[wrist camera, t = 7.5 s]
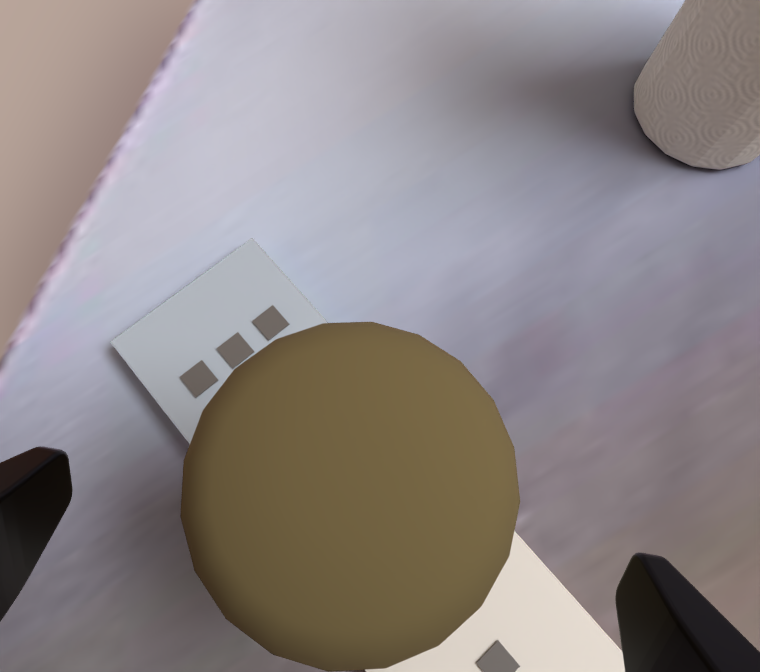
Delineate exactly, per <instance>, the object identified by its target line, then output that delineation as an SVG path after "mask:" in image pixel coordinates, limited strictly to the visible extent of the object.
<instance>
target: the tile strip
mask: <svg viewBox="0 0 760 672" xmlns="http://www.w3.org/2000/svg"><path fill="white" fill-rule="evenodd" d="M323 323H328V322H327V321H326V320H325V318H324V317H323V316H322V315H321V314H320V313H319V312H318V311H317V310H316V308H315V307H314V306H313V305H312V304H311V303H310V302H309V301H308V299H307V298H306V297H305V296H304V295H303V294H302V293H301V292H300V291H299V289H298V288H297V287H296V286H295V285H294V284H293V283H292V282H291V280H290V279H289V278H288V277H287V276H286V275H285V274H284V273H283V271H282V270H281V269H280V268H279V267H278V266H277V265H276V264H275V263H274V261H273V260H272V259H271V258H270V257H269V256H268V255H267V254H266V252H265V251H264V250H263V249H262V248H261V247H260V246H259V245H258V244H257V242H256V241H255V240H254V239H253V238H251V239H250V240H249V241H247V242H246V243H245V244H243V245H242V246H240V247H239V248H238V249H236V250H235V251H234V252H232V253H231V254H230V255H228V256H227V257H225V258H224V259H223V260H221V261H220V262H219V263H217V264H216V265H215V266H213V267H212V268H210V269H209V270H208V271H206V272H205V273H204V274H202V275H201V276H199V277H198V278H197V279H195V280H194V281H193V282H191V283H190V284H189V285H187V286H186V287H184V288H183V289H182V290H180V291H179V292H178V293H176V294H175V295H173V296H172V297H171V298H169V299H168V300H167V301H165V302H164V303H163V304H161V305H160V306H158V307H157V308H156V309H154V310H153V311H152V312H150V313H149V314H147V315H146V316H145V317H143V318H142V319H141V320H139V321H138V322H137V323H135V324H134V325H132V326H131V327H130V328H128V329H127V330H126V331H124V332H123V333H122V334H120V335H119V336H117V337H116V338H115V339H113V340H112V341H111V344H112V345H113V346H114V347H115V349H116V350H117V351H118V353H119V354H120V355H121V356H122V358H123V359H124V360H125V362H126V363H127V364H128V365H129V367H130V368H131V369H132V371H133V372H134V373H135V375H136V376H137V377H138V378H139V380H140V381H141V382H142V384H143V385H144V386H145V387H146V389H147V390H148V391H149V393H150V394H151V395H152V396H153V398H154V399H155V400H156V402H157V403H158V404H159V405H160V407H161V408H162V409H163V411H164V412H165V413H166V414H167V416H168V417H169V418H170V420H171V421H172V422H173V423H174V425H175V426H176V427H177V429H178V430H179V431H180V432H181V434H182V435H183V436H184V438H185V439H186V440H187V441H188V443H189V444H190V443H191V440H192V438H193V435H194V432H195V430H196V427H197V424H198V422H199V419H200V416H201V414H202V411H203V409H204V408H205V407H206V405H207V404H208V403H209V401H210V400H211V399H212V398H213V396H214V395H215V394H216V392H217V391H218V390H219V389H220V387H221V386H222V385H223V383H224V382H225V381H226V379H227V378H228V377H229V376H230V374H231V373H232V372H233V370H234V369H235V368H236V367H238V366H239V365H241V364H242V363H243V362H245V361H246V360H248V359H249V358H250V357H252V356H253V355H255V354H256V353H257V352H259V351H260V350H262V349H263V348H264V347H266V346H267V345H269V344H270V343H271V342H273V341H274V340H276V339H278V338H281V337H284V336H287V335H290V334H293V333H296V332H299V331H302V330H305V329H308V328H311V327H314V326H317V325H320V324H323ZM365 671H366V672H625V667H624V660H623V653H622V651H621V650H620V649H619V647H618V646H617V645H616V644H615V643H614V642H613V641H612V640H611V639H610V637H609V636H608V635H607V634H606V633H605V632H604V631H603V630H602V628H601V627H600V626H599V625H598V624H597V623H596V622H595V621H594V619H593V618H592V617H591V616H590V615H589V614H588V613H587V612H586V611H585V609H584V608H583V607H582V606H581V605H580V604H579V603H578V602H577V600H576V599H575V598H574V597H573V596H572V595H571V594H570V593H569V592H568V590H567V589H566V588H565V587H564V586H563V585H562V584H561V583H560V581H559V580H558V579H557V578H556V577H555V576H554V575H553V574H552V572H551V571H550V570H549V569H548V568H547V567H546V566H545V565H544V564H543V562H542V561H541V560H540V559H539V558H538V557H537V556H536V555H535V553H534V552H533V551H532V550H531V549H530V548H529V547H528V546H527V545H526V543H525V542H524V541H523V540H522V539H521V538H520V537H519V536H518V534H517V533H516V532H515V531H514V535H513V540H512V545H511V550H510V555H509V558H508V559H507V561H506V563H505V565H504V567H503V568H502V570H501V572H500V574H499V576H498V577H497V579H496V581H495V583H494V585H493V587H492V588H491V590H490V592H489V594H488V596H487V597H486V599H485V601H484V603H483V605H482V606H481V608H479V609H478V610H477V611H476V612H475V613H474V614H473V615H472V616H471V617H470V618H469V619H467V620H466V621H465V622H464V623H463V624H462V625H461V626H460V627H459V628H458V629H457V630H455V631H454V632H453V633H452V634H451V635H450V636H449V637H448V638H447V639H446V640H445V641H443V642H442V643H441V644H440V645H439V646H437V647H435V648H432V649H430V650H428V651H425V652H423V653H421V654H418V655H416V656H414V657H411V658H409V659H407V660H404V661H402V662H400V663H397V664H395V665H393V666H390V667H388V668H384V669H366V670H365Z"/></svg>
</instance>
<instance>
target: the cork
mask: <svg viewBox="0 0 760 672" xmlns="http://www.w3.org/2000/svg"><path fill="white" fill-rule="evenodd" d="M519 504H520V496H519V487H518V478H517V469H516V460H515V451H514V446H513V444H512V442H511V439H510V437H509V435H508V432H507V430H506V428H505V425H504V423H503V421H502V418H501V416H500V414H499V412H498V409H497V407H496V405H495V402H494V400H493V399H492V398H491V396H490V395H489V394H488V393H487V392H486V391H485V389H484V388H483V387H482V386H481V385H480V384H479V382H478V381H477V380H476V379H475V378H474V376H473V375H472V374H471V373H470V372H469V371H468V369H467V368H466V367H465V366H464V365H463V364H462V362H461V361H459V360H458V359H456V358H455V357H453V356H451V355H450V354H448V353H447V352H445V351H444V350H442V349H440V348H439V347H437V346H436V345H434V344H433V343H431V342H429V341H428V340H426V339H425V338H423V337H422V336H420V335H418V334H414V333H410V332H407V331H403V330H400V329H396V328H392V327H389V326H385V325H381V324H378V323H374V322H351V323H323V324H320V325H317V326H314V327H311V328H308V329H305V330H302V331H299V332H296V333H293V334H290V335H287V336H284V337H281V338H278V339H276V340H274V341H273V342H271V343H270V344H269V345H267V346H266V347H264V348H263V349H262V350H260V351H259V352H257V353H256V354H255V355H253V356H252V357H250V358H249V359H248V360H246V361H245V362H243V363H242V364H241V365H239V366H238V367H236V368H235V369H234V370H233V372H232V373H231V374H230V376H229V377H228V378H227V379H226V381H225V382H224V383H223V385H222V386H221V387H220V389H219V390H218V391H217V392H216V394H215V395H214V396H213V398H212V399H211V400H210V401H209V403H208V404H207V405H206V407H205V408H204V409H203V411H202V414H201V416H200V419H199V422H198V424H197V427H196V430H195V432H194V435H193V438H192V440H191V443H190V445H189V448H188V451H187V453H186V456H185V459H184V465H183V482H182V499H181V520H182V524H183V528H184V532H185V535H186V539H187V543H188V547H189V551H190V555H191V559H192V562H193V566H194V570H195V572H196V574H197V575H198V577H199V578H200V580H201V581H202V583H203V584H204V586H205V587H206V589H207V590H208V592H209V594H210V595H211V597H212V598H213V600H214V601H215V603H216V604H217V606H218V607H219V609H220V610H221V612H222V613H223V615H224V616H225V618H226V619H227V620H228V621H229V622H231V623H232V624H233V625H235V626H236V627H237V628H239V629H240V630H241V631H243V632H244V633H245V634H247V635H248V636H249V637H250V638H252V639H253V640H254V641H256V642H257V643H258V644H260V645H261V646H262V647H264V648H265V649H266V650H268V651H269V652H270V653H271V654H273V655H276V656H279V657H283V658H286V659H289V660H292V661H296V662H299V663H302V664H305V665H309V666H312V667H315V668H318V669H322V670H325V671H328V672H330V671H348V670H366V669H384V668H388V667H390V666H393V665H395V664H397V663H400V662H402V661H404V660H407V659H409V658H411V657H414V656H416V655H418V654H421V653H423V652H425V651H428V650H430V649H432V648H435V647H437V646H439V645H440V644H441V643H442V642H443V641H445V640H446V639H447V638H448V637H449V636H450V635H451V634H452V633H453V632H454V631H455V630H457V629H458V628H459V627H460V626H461V625H462V624H463V623H464V622H465V621H466V620H467V619H469V618H470V617H471V616H472V615H473V614H474V613H475V612H476V611H477V610H478V609H479V608H481V606H482V605H483V603H484V601H485V599H486V597H487V596H488V594H489V592H490V590H491V588H492V587H493V585H494V583H495V581H496V579H497V577H498V576H499V574H500V572H501V570H502V568H503V567H504V565H505V563H506V561H507V559H508V558H509V555H510V550H511V545H512V540H513V535H514V530H515V525H516V520H517V515H518V509H519Z"/></svg>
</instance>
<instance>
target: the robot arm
mask: <svg viewBox="0 0 760 672" xmlns="http://www.w3.org/2000/svg"><path fill="white" fill-rule="evenodd" d="M71 497H72V482H71V474H70V467H69V459H68V455H67V454H66V452H65V451H63V450H60V449H54V448H48V447H36V448H33V449H31V450H28V451H26V452H24V453H21V454H19V455H17V456H15V457H12V458H10V459H8V460H6V461H3V462H1V463H0V621H1V620H2V618H3V617H4V615H5V614H6V613H7V611H8V610H9V608H10V607H11V605H12V604H13V602H14V601H15V599H16V598H17V596H18V595H19V593H20V591H21V590H22V588H23V586H24V585H25V583H26V581H27V579H28V578H29V576H30V574H31V572H32V571H33V569H34V567H35V565H36V563H37V561H38V560H39V558H40V556H41V554H42V552H43V551H44V549H45V547H46V545H47V543H48V542H49V540H50V538H51V536H52V534H53V533H54V531H55V529H56V527H57V525H58V524H59V522H60V520H61V518H62V516H63V515H64V513H65V511H66V509H67V507H68V505H69V503H70V501H71ZM616 610H617V617H618V624H619V631H620V639H621V646H622V653H623V660H624V667H625V672H760V652H759V651H758V650H757V649H756V648H755V647H754V646H753V645H752V644H751V643H750V642H749V641H748V640H747V639H746V638H745V637H744V636H743V635H742V634H741V633H740V632H739V631H738V630H737V629H736V628H735V627H734V626H733V625H732V624H731V623H730V622H729V621H728V620H727V619H726V618H725V617H724V616H723V615H722V614H721V613H720V612H719V611H718V610H717V609H716V608H715V607H714V606H713V605H712V604H711V603H710V602H709V601H708V600H707V599H706V598H705V597H704V596H703V595H702V594H701V593H700V592H699V591H698V590H697V589H696V588H695V587H694V586H693V585H692V584H691V583H690V582H689V581H688V580H687V579H686V578H685V577H684V576H683V575H682V574H681V573H680V572H679V571H678V570H677V569H676V568H675V567H674V566H673V565H672V564H671V563H670V562H669V561H667V560H666V559H665V558H663V557H661V556H657V555H651V554H646V553H636V554H634V555H633V556H632V558H631V560H630V562H629V564H628V566H627V568H626V570H625V572H624V574H623V576H622V578H621V580H620V583H619V585H618V587H617V590H616Z"/></svg>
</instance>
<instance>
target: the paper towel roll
mask: <svg viewBox="0 0 760 672" xmlns="http://www.w3.org/2000/svg"><path fill="white" fill-rule="evenodd" d="M634 112H635V114H636V117H637V119H638V121H639V123H640V125H641V127H642V129H643V131H644V133H645V135H646V136H647V137H648V138H649V139H650V140H652V141H653V142H654V143H655V144H656V145H657V146H658V147H659V148H660V149H661V150H662V151H663V152H664V153H665V154H667V155H669V156H671V157H673V158H676V159H678V160H680V161H682V162H684V163H686V164H688V165H690V166H694V167H702V168H710V169H718V170H722V169H726V168H730V167H735V166H739V165H743V164H747V163H749V162H751V161H753V160H754V159H755V158H756V157H758V156H759V155H760V0H685V2H684V3H683V5H682V7H681V8H680V10H679V11H678V13H677V15H676V16H675V18H674V19H673V21H672V23H671V24H670V26H669V27H668V29H667V31H666V32H665V34H664V35H663V37H662V39H661V40H660V42H659V43H658V45H657V46H656V48H655V50H654V51H653V53H652V54H651V56H650V58H649V59H648V61H647V62H646V64H645V66H644V68H643V70H642V71H641V73H640V75H639V77H638V79H637V81H636V83H635V85H634Z"/></svg>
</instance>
